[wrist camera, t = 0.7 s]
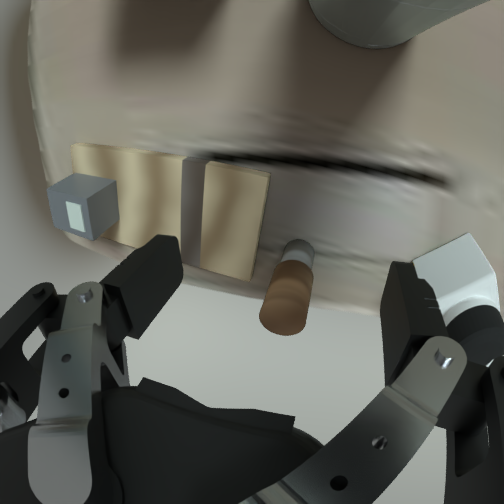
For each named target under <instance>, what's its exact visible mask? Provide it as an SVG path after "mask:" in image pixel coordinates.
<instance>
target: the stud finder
mask: <svg viewBox="0 0 504 504" xmlns="http://www.w3.org/2000/svg"><path fill="white" fill-rule="evenodd" d="M47 194H48V199H49V204H50V209H51V214H52V219H53V223H54V227H56V228H59V229H62V230H64V231H67V232H70V233H73V234H75V235H78V236H81V237H84V238H87V239H89V240H92V241H94V240H95V239H96V238H98V237H99V236H100V235H101V234H102V233H104V232H105V231H106V230H107V229H108V228H110V227H111V226H112V225H113V224H114V223H116V222H117V221H118V220H119V219H120V216H119V207H118V195H117V182H116V180H113V179H107V178H102V177H97V176H91V175H86V174H80V173H74V174H72V175H70V176H68V177H67V178H65V179H63V180H61V181H59V182H58V183H56V184H54V185H53V186H51V187H49V188H47Z"/></svg>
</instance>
